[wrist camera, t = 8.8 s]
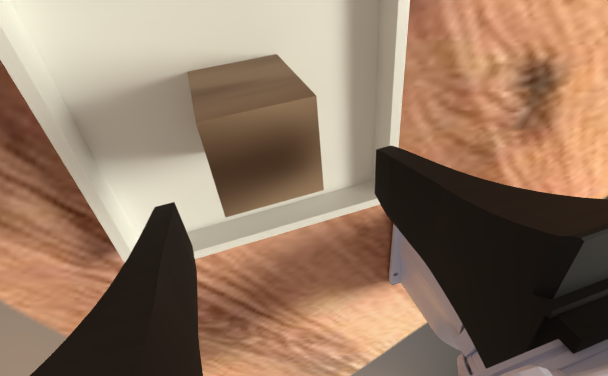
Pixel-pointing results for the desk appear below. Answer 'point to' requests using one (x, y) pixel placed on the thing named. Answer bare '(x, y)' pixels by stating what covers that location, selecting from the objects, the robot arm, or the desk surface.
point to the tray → (179, 108)
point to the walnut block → (257, 132)
